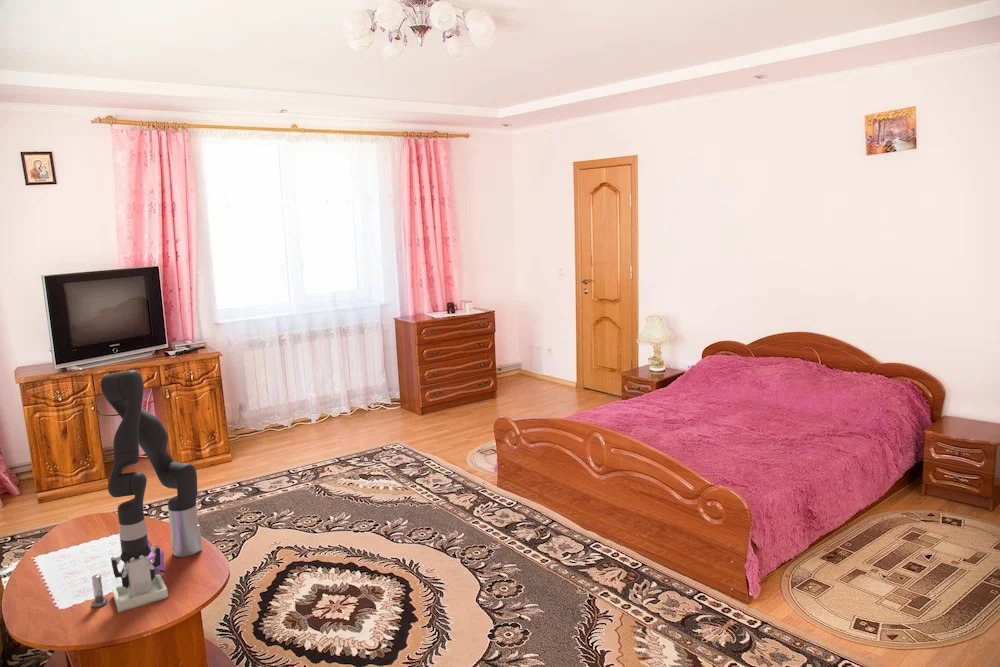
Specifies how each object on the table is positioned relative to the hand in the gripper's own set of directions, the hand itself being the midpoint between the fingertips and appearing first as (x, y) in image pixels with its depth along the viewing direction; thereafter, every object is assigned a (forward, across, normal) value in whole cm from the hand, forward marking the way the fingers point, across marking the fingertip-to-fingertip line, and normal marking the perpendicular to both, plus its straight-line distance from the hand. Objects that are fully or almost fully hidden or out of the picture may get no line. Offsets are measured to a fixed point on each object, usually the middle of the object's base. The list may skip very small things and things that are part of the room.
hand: (139, 583), depth 222 cm
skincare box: (+4, 0, 0) cm, 4 cm away
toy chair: (+5, -5, -14) cm, 16 cm away
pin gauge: (+5, +11, -3) cm, 12 cm away
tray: (+5, 0, 0) cm, 5 cm away
